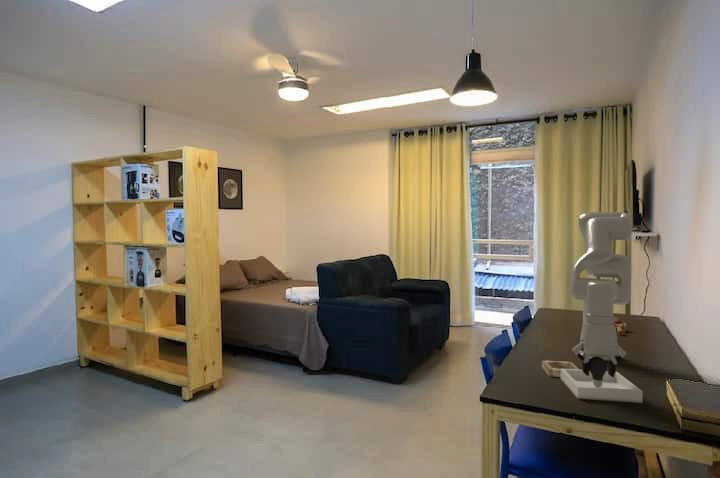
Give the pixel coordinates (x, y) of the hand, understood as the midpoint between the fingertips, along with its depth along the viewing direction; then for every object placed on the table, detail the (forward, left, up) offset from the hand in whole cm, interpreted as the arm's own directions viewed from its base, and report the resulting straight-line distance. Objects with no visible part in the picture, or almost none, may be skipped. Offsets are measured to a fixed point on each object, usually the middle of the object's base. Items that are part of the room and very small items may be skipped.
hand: (598, 374), depth 136 cm
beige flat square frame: (+7, -16, -5) cm, 18 cm away
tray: (0, 0, -5) cm, 5 cm away
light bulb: (0, 0, -5) cm, 5 cm away
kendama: (-41, -90, -5) cm, 99 cm away
